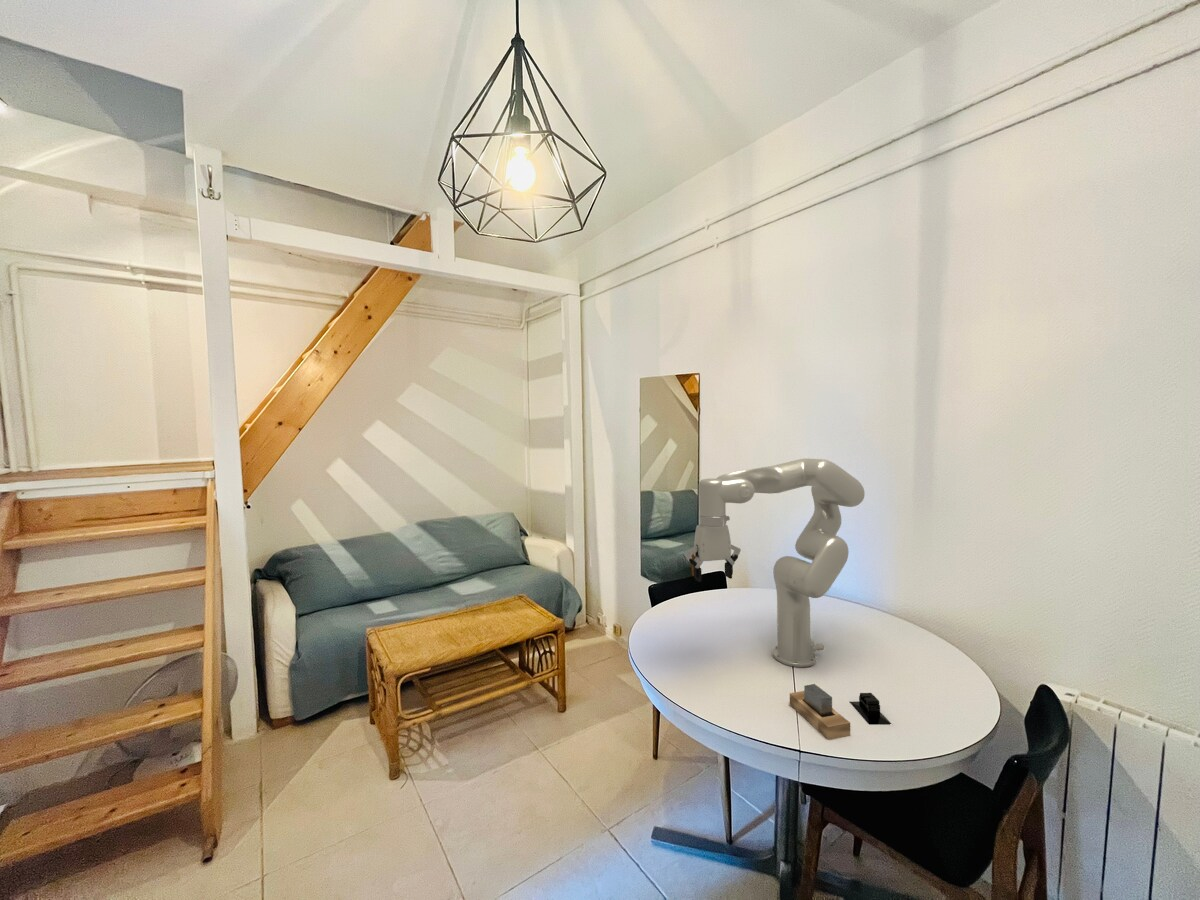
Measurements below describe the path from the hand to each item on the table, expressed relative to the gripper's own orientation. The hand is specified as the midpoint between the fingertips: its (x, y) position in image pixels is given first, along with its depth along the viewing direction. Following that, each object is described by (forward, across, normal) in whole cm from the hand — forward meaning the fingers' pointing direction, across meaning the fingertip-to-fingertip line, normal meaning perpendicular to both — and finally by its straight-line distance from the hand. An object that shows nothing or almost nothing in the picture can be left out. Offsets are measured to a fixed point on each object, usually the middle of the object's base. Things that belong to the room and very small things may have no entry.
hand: (713, 578), depth 132 cm
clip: (+28, -14, +26) cm, 41 cm away
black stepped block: (+29, -28, +27) cm, 49 cm away
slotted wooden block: (+28, -14, +26) cm, 41 cm away
